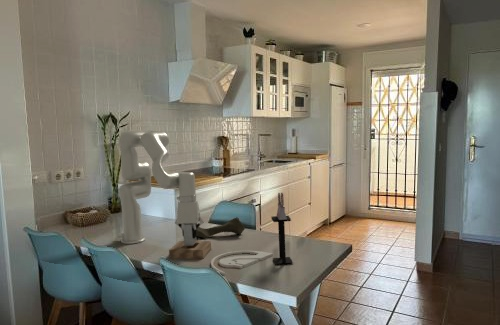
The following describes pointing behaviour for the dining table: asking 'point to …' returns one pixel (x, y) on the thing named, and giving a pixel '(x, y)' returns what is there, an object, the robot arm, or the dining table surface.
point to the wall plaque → (239, 259)
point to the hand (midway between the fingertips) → (190, 237)
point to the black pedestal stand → (281, 233)
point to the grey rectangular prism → (188, 235)
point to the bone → (222, 228)
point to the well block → (190, 250)
